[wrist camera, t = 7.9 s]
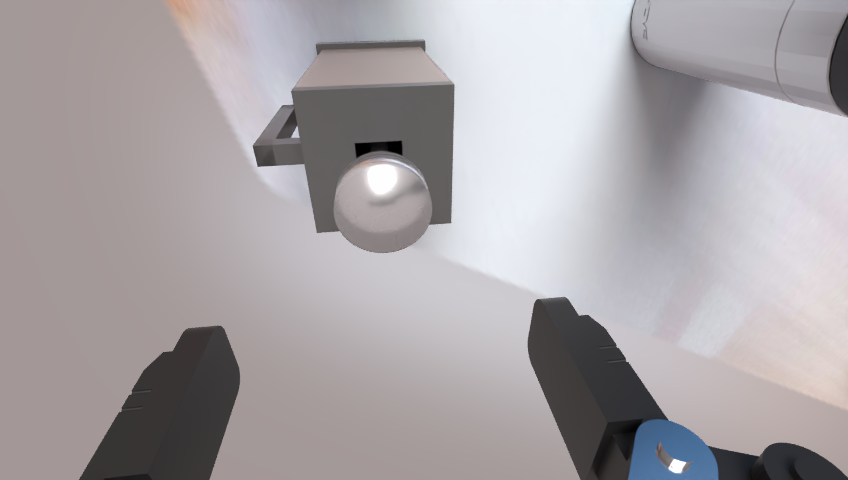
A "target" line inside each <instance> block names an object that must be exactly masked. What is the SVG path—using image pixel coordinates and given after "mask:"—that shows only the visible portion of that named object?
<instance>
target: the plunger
mask: <svg viewBox="0 0 848 480" xmlns="http://www.w3.org/2000/svg"><path fill="white" fill-rule="evenodd" d="M397 142H398V141H386V142H367V143H359V144H361V145H363V146H367V147H370V153H367V154H364V155H362V156H360V157H358V158H356V159H355V160H353V161H352V162H351V163H350V164H349V165H347V166H346V168H345V169H344V170H343V172H342V173H341V175H340V177H339V180H338V183H337V187H336V194H335V200H334V218H335V222H336V224H337V227H338V229H339V230H340V232H341V233H342V235H343V236H344V237H345V238H346V239H347V240H348V241H349V242H351V243H352V244H354V245H356V246H357V247H359V248H361V249H364V250H367V251H370V252H377V253H388V252H394V251H399V250H401V249H404V248H406V247H408V246H410V245H411V244H413V243H414V242H416V241H417V240H418V239H419V238H420V237H421V236H422V235H423V234H424V232H425V231H426V229H427V227H428V225H429V223H430V220H431V216H432V202H431V197H430V194H429V191H428V187H427V184H426V181H425V178H424V176H423V174H422V172H421V171H420V170H419V168H418V167H417V166H416V165H415V164H414V163H413V162H412V161H410V160H409V159H407V158H406V157H404V156H402V155H399V154H396V153H393V152H388V146H391V145H393V144H395V143H397Z"/></svg>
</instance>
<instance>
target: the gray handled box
mask: <svg viewBox="0 0 848 480" xmlns="http://www.w3.org/2000/svg"><path fill="white" fill-rule="evenodd" d="M316 48H317V55H318V56H317V57H316V59H315V60H314V61H313V63H312V64H311V65H310V67H309V68H308V69H307V71H306V72H305V73H304V75H303V76H302V77H301V79H300V80H299V81H298V83H297V84H296V85H295V87H294V88H293V89H292V91H291V92H292V98H293V103H294V105H282V107H281V108H280V109H279V111H278V112H277V113H276V115H275V116H274V117H273V119H272V120H271V122H270V123H269V124H268V126H267V127H266V128H265V130H264V131H263V132H262V134H261V135H260V137H259V138H258V139H257V141H256V142H255V143H254V145H253V149H254V153H255V157H256V161H257V165H258V167H260V166H278V165H296V164H305V169H306V175H307V180H308V186H309V191H310V197H311V202H312V208H313V213H314V219H315V224H316V229H317V233H321V232H335V231H340V230H339V229H338V227H337V224H336V222H335V218H334V200H335V194H336V187H337V183H338V180H339V177H340V175H341V173H342V172H343V170H344V169H345V168H346V166H347V165H349V164H350V163H351V162H352V161H353V160H355V159H356V158H358V157H360V156H362V155H364V154H367V153H370V147H367V146H363V145H361V144H359V143H367V142H386V141H398V142H397V143H395V144H393V145H391V146H388V152H393V153H396V154H399V155H402V156H404V157H406V158H407V159H409V160H410V161H412V162H413V163H414V164H415V165H416V166H417V167H418V168H419V170H420V171H421V172H422V174H423V176H424V178H425V181H426V184H427V187H428V191H429V194H430V197H431V202H432V216H431V220H430V223H429V225H431V224H445V223H451V205H452V163H453V121H454V83H453V82H452V81H451V80H450V79H449V78H448V77H447V76H446V75H445V74H444V72H443V71H442V70H441V69H440V68H439V67H438V66H437V65H436V64H435V63H434V62H433V60H432V59H431V58H430V57H429V56H428V55H427V54H426V53H425V40H398V41H364V42H331V43H317V44H316ZM297 125H298V131H299V136H300V138H291V136H292V134H293V132H294V130H295V128H296V127H297Z"/></svg>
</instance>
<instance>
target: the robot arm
mask: <svg viewBox="0 0 848 480" xmlns="http://www.w3.org/2000/svg"><path fill="white" fill-rule="evenodd" d="M631 27H632V37H633V41H634V45H635V47H636V49H637V51H638V53H639V54H640V55H641V56H642V57H643V58H644V59H645V60H646V61H647V62H648V63H650V64H652V65H654V66H657V67H661V68H665V69H668V70H672V71H676V72H680V73H683V74H686V75H690V76H693V77H697V78H701V79H705V80H708V81H712V82H716V83H720V84H723V85H727V86H731V87H734V88H738V89H742V90H746V91H749V92H753V93H757V94H761V95H764V96H768V97H772V98H775V99H779V100H783V101H787V102H790V103H794V104H798V105H802V106H806V107H810V108H814V109H818V110H821V111H825V112H829V113H833V114H836V115H840V116H844V117H848V0H636V2H635V5H634V8H633V14H632V21H631ZM528 352H529V358H530V361H531V364H532V367H533V369H534V371H535V374H536V376H537V378H538V381H539V383H540V385H541V388H542V390H543V392H544V395H545V397H546V399H547V402H548V404H549V406H550V409H551V411H552V413H553V416H554V418H555V420H556V423H557V425H558V428H559V430H560V432H561V435H562V437H563V439H564V442H565V444H566V446H567V448H568V451H569V453H570V456H571V458H572V460H573V463H574V465H575V467H576V470H577V472H578V475H579V477H580V479H581V480H848V477H847V476H845V475H844V474H843V473H842V472H841V471H840V470H839V469H838V468H837V467H836V466H834V465H833V464H832V463H831V462H829V461H828V460H826V459H825V458H823V457H822V456H820V455H818V454H817V453H815V452H813V451H811V450H809V449H806V448H804V447H801V446H798V445H795V444H790V443H775V444H772V445H769V446H768V447H767V448H766V449H765V450H764V451H763V453H762V454H761V455H760V457H759V456H754V455H749V454H744V453H738V452H733V451H728V450H723V449H718V448H714V447H710V446H707V445H706V444H705V443H704V442H703V441H702V439H700V438H699V437H698V436H697V435H696V434H694V433H693V432H692V431H690V430H689V429H687V428H685V427H684V426H682V425H679V424H677V423H675V422H672V421H669V420H668V419H667V417H666V416H665V415H664V414H663V412H662V411H661V409H660V408H659V406H658V405H657V403H656V402H655V400H654V399H653V397H652V396H651V394H650V393H649V392H648V390H647V389H646V388H645V386H644V384H643V383H642V381H641V380H640V379H639V377H638V376H637V374H636V373H635V371H634V370H633V368H632V367H631V365H630V364H629V362H626V358H625V357H624V355H623V354H622V352H621V351H620V349H619V348H617V347H616V343H615V342H614V341H613V339H612V338H611V336H610V335H609V334H608V332H607V330H606V329H605V328H604V327H603V326H601V325H600V324H599V323H598V322H596V321H595V320H594V319H592V318H591V317H590V316H589V315H583V316H579V315H578V314H577V312H576V311H575V309H574V307H573V306H572V304H571V303H570V301H569V300H568V299H567V298H566V297H559V298H548V299H537V300H536V301H535V303H534V308H533V313H532V320H531V325H530V331H529V337H528ZM239 385H240V372H239V367H238V364H237V361H236V359H235V356H234V354H233V351H232V348H231V345H230V343H229V340H228V338H227V335H226V332H225V330H224V329H223V327H221V326H210V327H199V328H188V329H186V330H185V331H184V332H183V334H182V335H181V337H180V339H179V341H178V343H177V344H176V346H175V348H174V350H173V351H172V352H163V353H162V354H161V355H160V356H159V357H158V358H157V359H156V360H155V361H153V362H152V363H151V364H150V365H149V366H148V367H147V368H146V369H145V370H144V371H143V373H142V374H141V376H140V378H139V379H138V381H137V383H136V384H135V386H134V388H133V390H132V394H131V395H129V396H128V398H127V400H126V401H125V403H124V405H123V406H122V412H119V413H118V415H117V417H116V418H115V420H114V422H113V423H112V425H111V427H110V428H109V430H108V432H107V434H106V435H105V437H104V439H103V440H102V442H101V443H100V445H99V447H98V449H97V450H96V452H95V454H94V455H93V457H92V459H91V460H90V462H89V464H88V465H87V467H86V469H85V471H84V472H83V474H82V476H81V477H80V479H79V480H209V479H210V476H211V473H212V470H213V467H214V464H215V461H216V458H217V454H218V451H219V448H220V446H221V442H222V439H223V436H224V433H225V430H226V427H227V424H228V421H229V418H230V415H231V412H232V409H233V406H234V403H235V400H236V397H237V394H238V390H239Z"/></svg>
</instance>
